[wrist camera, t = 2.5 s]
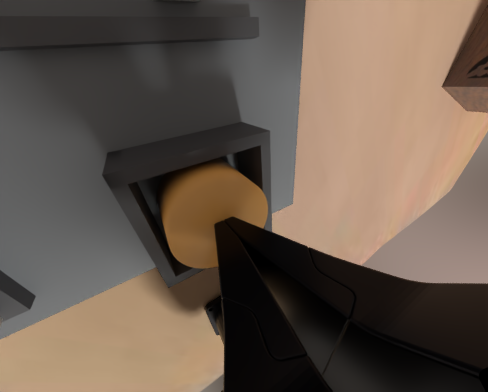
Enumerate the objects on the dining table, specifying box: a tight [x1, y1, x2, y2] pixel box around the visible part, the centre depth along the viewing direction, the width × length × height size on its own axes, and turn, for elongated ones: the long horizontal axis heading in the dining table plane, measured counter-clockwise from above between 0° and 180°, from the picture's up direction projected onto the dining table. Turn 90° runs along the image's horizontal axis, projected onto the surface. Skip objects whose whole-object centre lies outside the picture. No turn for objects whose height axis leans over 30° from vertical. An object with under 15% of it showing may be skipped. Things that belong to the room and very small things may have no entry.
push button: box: [157, 158, 268, 269], centre depth 9 cm, size 4×4×3 cm
